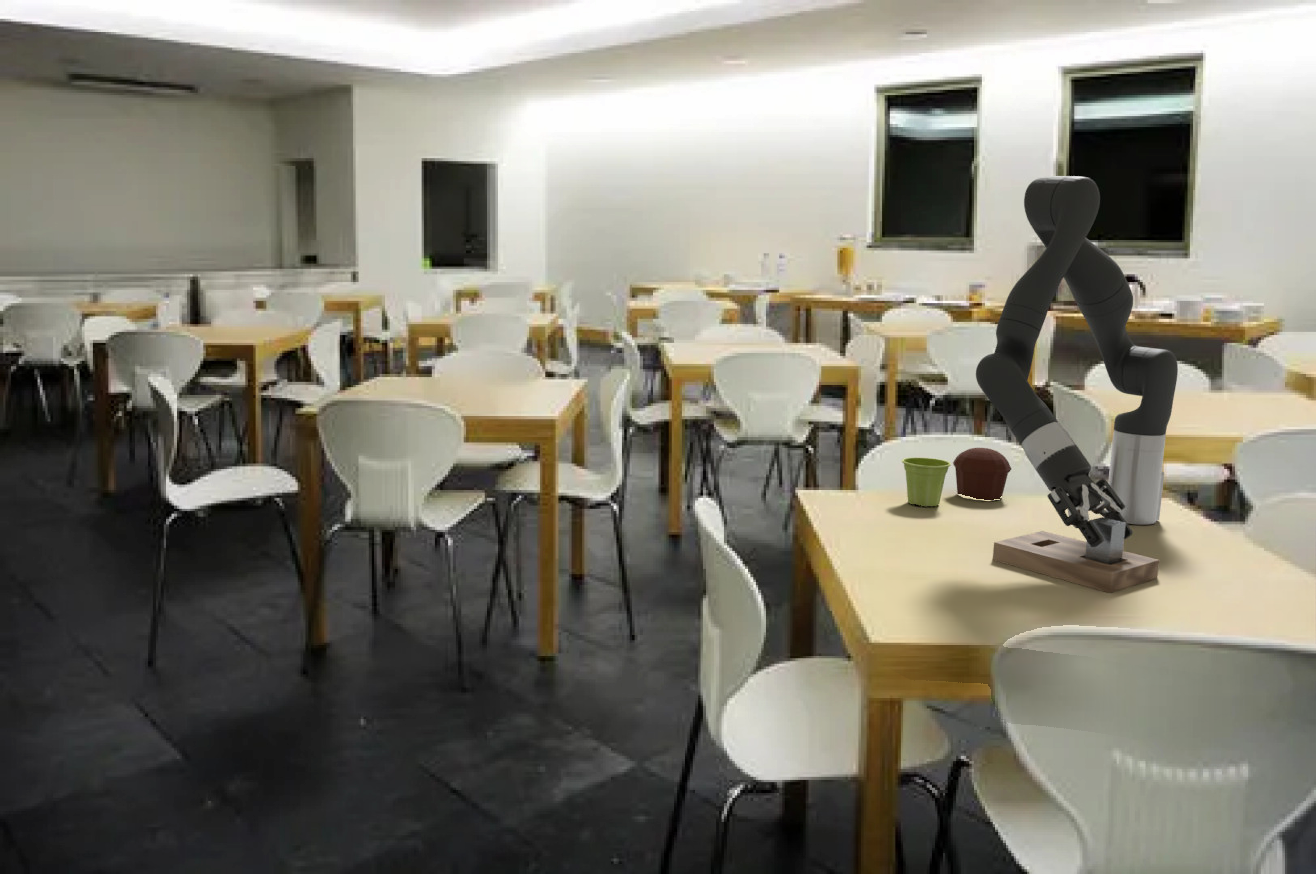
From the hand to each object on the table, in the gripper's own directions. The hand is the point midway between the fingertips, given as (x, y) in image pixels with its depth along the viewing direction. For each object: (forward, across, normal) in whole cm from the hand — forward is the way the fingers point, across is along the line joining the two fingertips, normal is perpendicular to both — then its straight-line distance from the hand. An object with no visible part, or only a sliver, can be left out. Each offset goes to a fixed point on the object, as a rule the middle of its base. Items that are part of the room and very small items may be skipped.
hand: (1113, 540), depth 180 cm
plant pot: (-30, +16, +39) cm, 52 cm away
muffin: (-29, +32, +38) cm, 57 cm away
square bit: (+3, 0, +5) cm, 6 cm away
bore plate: (0, 0, +9) cm, 9 cm away
